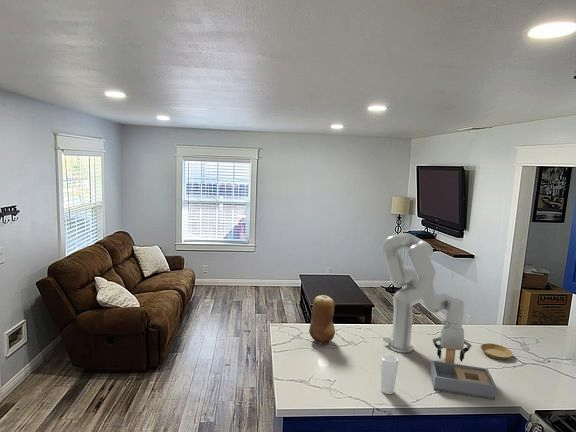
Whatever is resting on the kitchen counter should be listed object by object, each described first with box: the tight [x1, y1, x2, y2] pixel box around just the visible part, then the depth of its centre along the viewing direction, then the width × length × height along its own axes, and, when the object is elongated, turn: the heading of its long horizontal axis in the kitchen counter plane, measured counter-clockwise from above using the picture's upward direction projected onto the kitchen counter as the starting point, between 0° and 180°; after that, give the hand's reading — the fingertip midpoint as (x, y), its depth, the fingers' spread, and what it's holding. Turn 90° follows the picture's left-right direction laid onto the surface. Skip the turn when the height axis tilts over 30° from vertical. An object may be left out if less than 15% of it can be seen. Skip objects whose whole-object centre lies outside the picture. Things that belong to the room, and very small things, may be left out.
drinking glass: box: [380, 353, 399, 395], centre depth 167 cm, size 7×7×15 cm
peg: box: [444, 348, 456, 364], centre depth 189 cm, size 4×4×10 cm
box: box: [429, 360, 497, 401], centre depth 174 cm, size 24×15×6 cm, turn 76°
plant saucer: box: [480, 342, 513, 361], centre depth 205 cm, size 15×15×3 cm
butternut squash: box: [308, 294, 336, 345], centre depth 209 cm, size 14×13×25 cm
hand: (450, 358), depth 189 cm, fingers open, 9 cm apart
